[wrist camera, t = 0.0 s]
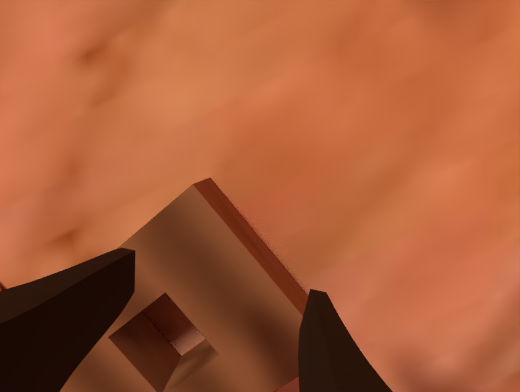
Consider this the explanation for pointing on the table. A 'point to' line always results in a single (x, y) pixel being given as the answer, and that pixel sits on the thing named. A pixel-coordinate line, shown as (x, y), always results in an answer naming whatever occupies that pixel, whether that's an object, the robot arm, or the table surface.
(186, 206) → the walnut holder
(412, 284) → the table surface
